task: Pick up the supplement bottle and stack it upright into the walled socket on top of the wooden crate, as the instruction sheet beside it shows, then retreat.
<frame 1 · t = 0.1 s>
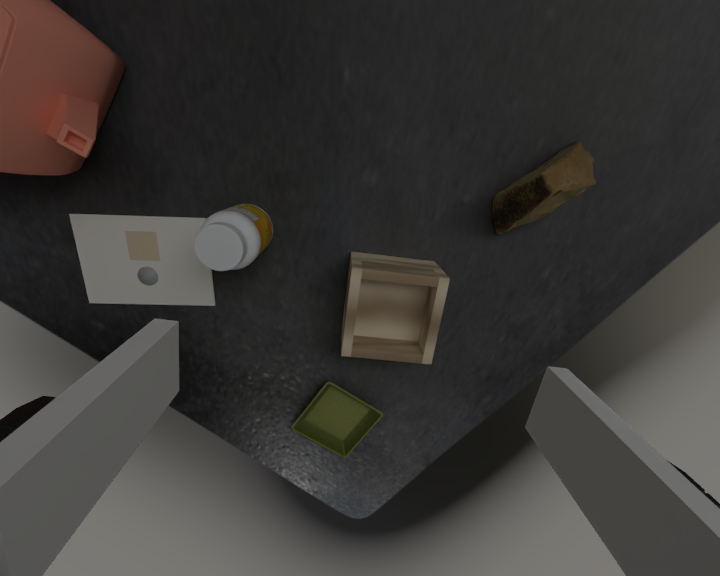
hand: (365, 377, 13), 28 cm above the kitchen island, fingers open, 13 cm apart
green tray: (337, 410, 47), on the kitchen island
supplement bottle: (249, 228, 39), on the kitchen island
rock: (533, 187, 38), on the kitchen island
wooden crate: (386, 295, 42), on the kitchen island
teapot: (60, 90, 34), on the kitchen island
instruction sheet: (146, 261, 39), on the kitchen island
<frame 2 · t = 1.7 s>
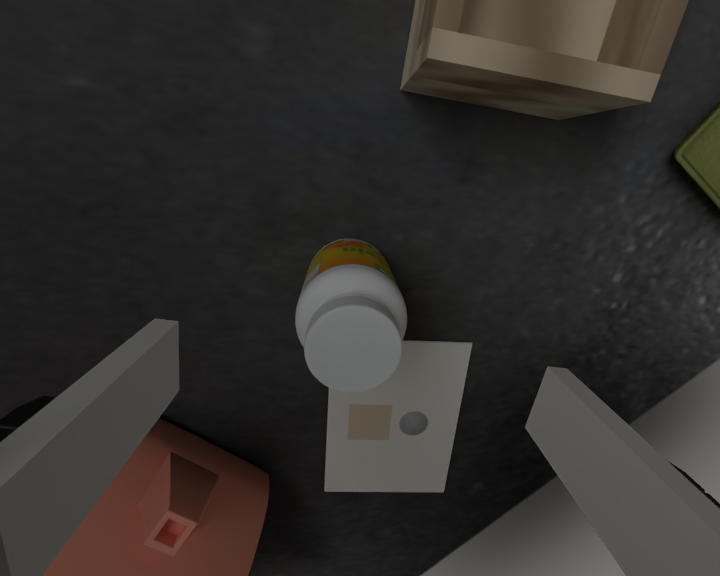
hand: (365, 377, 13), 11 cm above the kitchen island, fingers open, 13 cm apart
supplement bottle: (348, 276, 23), on the kitchen island
wooden crate: (505, 6, 19), on the kitchen island
teapot: (179, 472, 28), on the kitchen island
instruction sheet: (392, 421, 27), on the kitchen island
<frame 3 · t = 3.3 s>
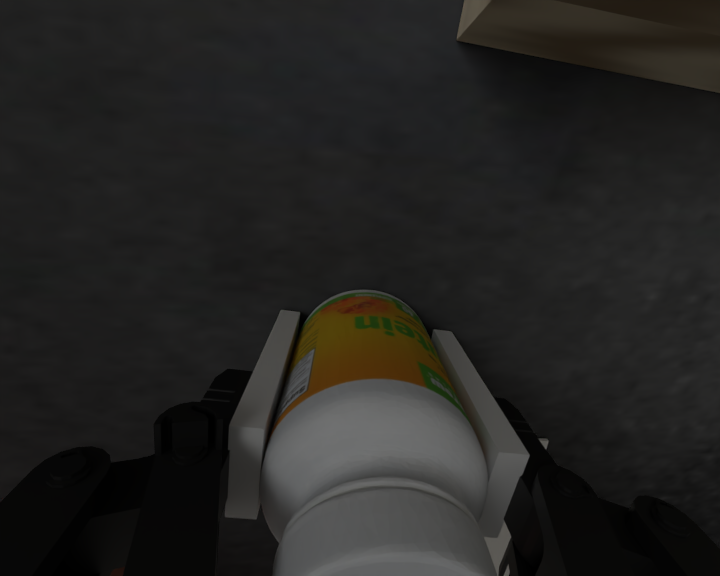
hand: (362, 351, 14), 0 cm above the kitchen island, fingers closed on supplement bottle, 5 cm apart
supplement bottle: (362, 344, 15), on the kitchen island, touching gripper
instruction sheet: (423, 543, 19), on the kitchen island
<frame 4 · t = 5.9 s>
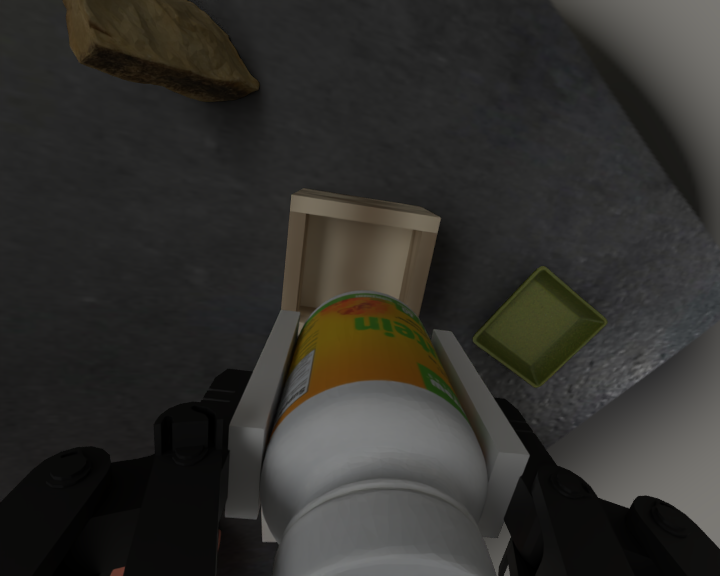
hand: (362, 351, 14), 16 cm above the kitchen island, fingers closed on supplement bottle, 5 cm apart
green tray: (527, 320, 33), on the kitchen island
supplement bottle: (362, 345, 15), point 16 cm above the kitchen island, touching gripper
rock: (184, 30, 25), on the kitchen island
wooden crate: (354, 254, 30), on the kitchen island
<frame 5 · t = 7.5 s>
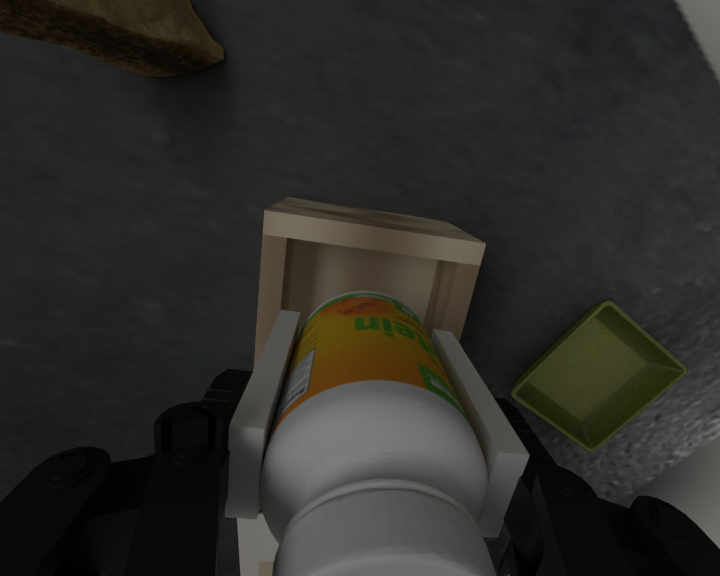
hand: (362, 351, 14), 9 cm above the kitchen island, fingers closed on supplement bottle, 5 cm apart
green tray: (578, 365, 26), on the kitchen island
supplement bottle: (362, 345, 15), point 8 cm above the kitchen island, touching gripper
wooden crate: (356, 284, 23), on the kitchen island
instruction sheet: (299, 572, 31), on the kitchen island
when the fingers open (8 cm above the kitchen island, at t = 8.7 s): supplement bottle drops 4 cm, resting on wooden crate.
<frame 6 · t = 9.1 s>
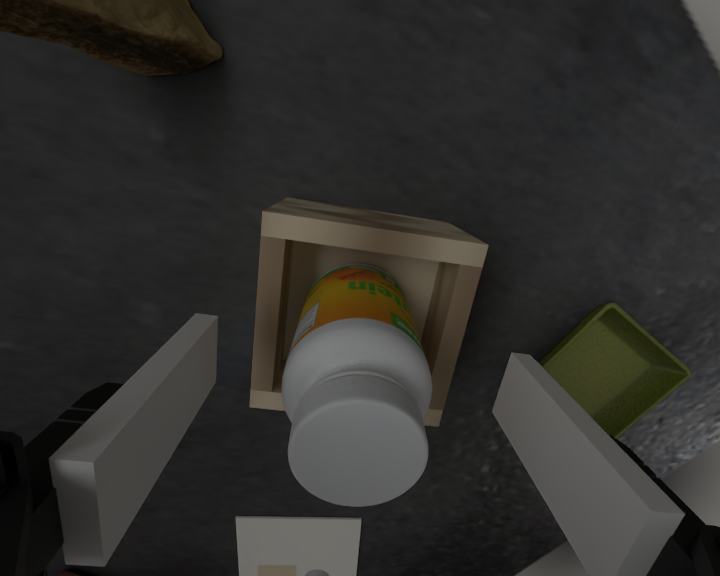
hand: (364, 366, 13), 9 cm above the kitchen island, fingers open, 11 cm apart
green tray: (581, 367, 26), on the kitchen island
supplement bottle: (355, 307, 19), point 3 cm above the kitchen island, touching wooden crate
wooden crate: (356, 285, 22), on the kitchen island
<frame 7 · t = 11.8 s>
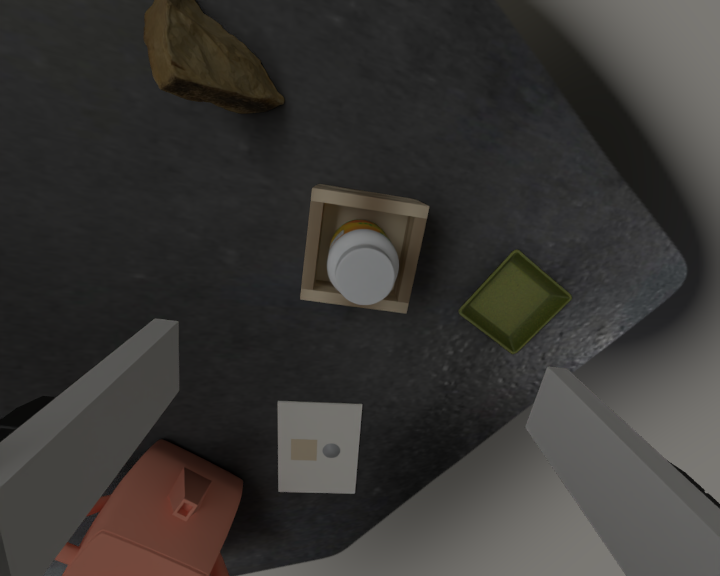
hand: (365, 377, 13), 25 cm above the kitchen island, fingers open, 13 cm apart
green tray: (506, 297, 39), on the kitchen island
supplement bottle: (359, 247, 33), point 3 cm above the kitchen island, touching wooden crate
rock: (225, 56, 31), on the kitchen island
wooden crate: (359, 239, 36), on the kitchen island
teapot: (188, 478, 46), on the kitchen island
instruction sheet: (318, 449, 44), on the kitchen island
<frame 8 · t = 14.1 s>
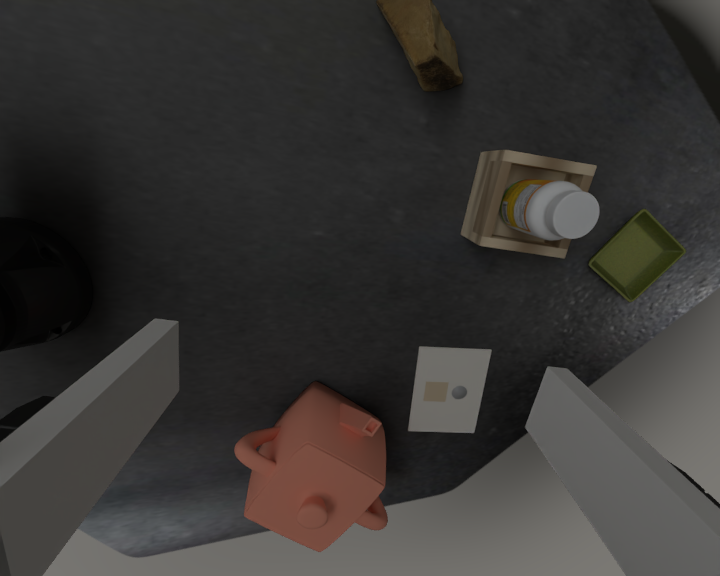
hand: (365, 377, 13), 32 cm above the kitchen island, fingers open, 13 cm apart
green tray: (623, 253, 46), on the kitchen island
supplement bottle: (520, 204, 39), point 3 cm above the kitchen island, touching wooden crate
rock: (417, 43, 37), on the kitchen island
wooden crate: (508, 200, 42), on the kitchen island
teapot: (330, 418, 52), on the kitchen island
instruction sheet: (447, 391, 51), on the kitchen island
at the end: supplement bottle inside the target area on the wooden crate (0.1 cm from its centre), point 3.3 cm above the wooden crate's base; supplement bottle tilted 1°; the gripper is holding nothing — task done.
